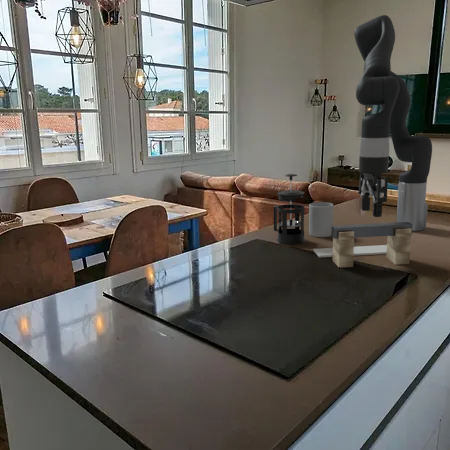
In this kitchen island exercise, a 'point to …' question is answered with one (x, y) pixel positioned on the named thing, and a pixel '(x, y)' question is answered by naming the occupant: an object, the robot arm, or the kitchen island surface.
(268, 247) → the kitchen island surface
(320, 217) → the mug
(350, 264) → the post
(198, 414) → the kitchen island surface
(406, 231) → the post
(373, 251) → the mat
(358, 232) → the rail
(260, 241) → the kitchen island surface
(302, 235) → the french press
